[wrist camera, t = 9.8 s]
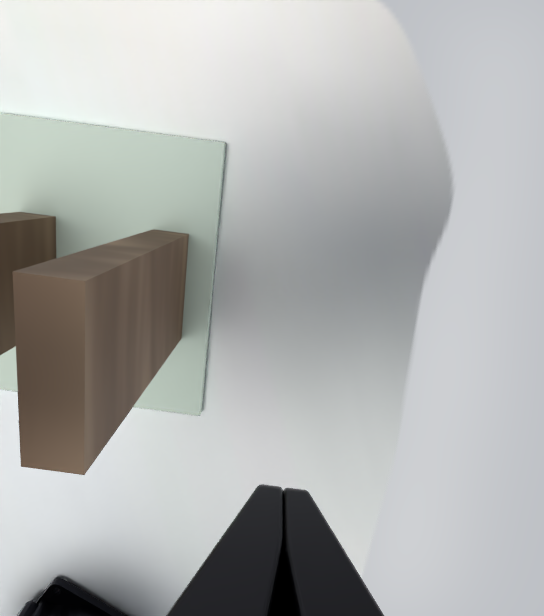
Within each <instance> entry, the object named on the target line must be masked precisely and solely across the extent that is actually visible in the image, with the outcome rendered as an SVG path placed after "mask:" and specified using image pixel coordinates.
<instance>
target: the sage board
mask: <svg viewBox="0 0 544 616" xmlns="http://www.w3.org/2000/svg"><path fill="white" fill-rule="evenodd" d="M225 148H226V143H225V142H219V141H211V140H203V139H196V138H188V137H181V136H173V135H165V134H158V133H150V132H143V131H135V130H127V129H120V128H112V127H104V126H97V125H89V124H82V123H74V122H66V121H59V120H51V119H43V118H36V117H28V116H21V115H13V114H5V113H0V213H12V212H26V213H33V214H41V215H49V216H56V258H59V257H63V256H66V255H69V254H73V253H76V252H79V251H83V250H86V249H89V248H93V247H96V246H99V245H103V244H106V243H109V242H113V241H116V240H119V239H123V238H126V237H129V236H133V235H136V234H139V233H143V232H146V231H149V230H153V229H155V230H163V231H171V232H178V233H186V234H189V241H188V255H187V269H186V283H185V297H184V311H183V325H182V339H181V340H180V342H179V343H178V344H177V346H176V347H175V349H174V350H173V351H172V353H171V354H170V356H169V357H168V358H167V360H166V361H165V363H164V364H163V365H162V367H161V368H160V370H159V371H158V372H157V374H156V375H155V377H154V378H153V379H152V381H151V382H150V384H149V385H148V386H147V388H146V389H145V391H144V392H143V393H142V395H141V396H140V398H139V399H138V400H137V402H136V403H135V405H134V406H133V407H136V408H143V409H151V410H158V411H166V412H174V413H181V414H189V415H196V416H200V414H201V412H202V403H203V392H204V381H205V370H206V359H207V348H208V337H209V326H210V314H211V303H212V292H213V281H214V270H215V259H216V248H217V237H218V226H219V214H220V203H221V192H222V181H223V170H224V159H225ZM0 390H8V391H15V392H18V385H17V363H16V346H15V347H14V348H12V349H10V350H9V351H7V352H5V353H3V354H2V355H0Z"/></svg>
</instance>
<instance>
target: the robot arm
mask: <svg viewBox="0 0 544 616" xmlns="http://www.w3.org/2000/svg"><path fill="white" fill-rule="evenodd" d="M17 616H126V615H124V614H122V613H121V612H119V611H117V610H115V609H114V608H112V607H110V606H109V605H107V604H105V603H103V602H102V601H100V600H98V599H97V598H95V597H93V596H91V595H90V594H88V593H86V592H85V591H83V590H81V589H79V588H78V587H76V586H74V585H73V584H71V583H69V582H67V581H66V580H64V579H61V578H56V579H54V580H53V581H52V582H51V583H50V585H49V586H48V587H47V588H46V590H45V591H44V592H43V594H42V595H41V596H40V597H39V599H38V600H37V601H36V602H35V601H33V600H32V601H29V602H27V603H26V604H25V606H24V607H23V608H22V609H21V611H20V612H19V613H18V615H17ZM166 616H384V615H383V613H382V611H381V610H380V608H379V606H378V605H377V603H376V602H375V600H374V598H373V597H372V595H371V593H370V592H369V590H368V588H367V587H366V585H365V584H364V582H363V580H362V579H361V577H360V575H359V574H358V572H357V570H356V569H355V567H354V566H353V564H352V562H351V561H350V559H349V557H348V556H347V554H346V552H345V551H344V549H343V548H342V546H341V544H340V543H339V541H338V539H337V538H336V536H335V534H334V533H333V531H332V530H331V528H330V526H329V525H328V523H327V521H326V520H325V518H324V516H323V515H322V513H321V512H320V510H319V508H318V507H317V505H316V503H315V502H314V500H313V498H312V497H311V495H310V494H309V492H308V491H306V490H301V489H293V488H285V489H284V491H283V490H282V488H281V487H278V486H270V485H259V486H258V487H257V488H256V489H255V491H254V492H253V494H252V495H251V497H250V498H249V499H248V501H247V502H246V504H245V505H244V506H243V508H242V509H241V511H240V512H239V513H238V515H237V516H236V518H235V519H234V520H233V522H232V523H231V525H230V526H229V528H228V529H227V530H226V532H225V533H224V535H223V536H222V537H221V539H220V540H219V542H218V543H217V544H216V546H215V547H214V549H213V550H212V552H211V553H210V554H209V556H208V557H207V559H206V560H205V561H204V563H203V564H202V566H201V567H200V568H199V570H198V571H197V573H196V574H195V576H194V577H193V578H192V580H191V581H190V583H189V584H188V585H187V587H186V588H185V590H184V591H183V592H182V594H181V595H180V597H179V598H178V600H177V601H176V602H175V604H174V605H173V607H172V608H171V609H170V611H169V612H168V614H167V615H166Z"/></svg>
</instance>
